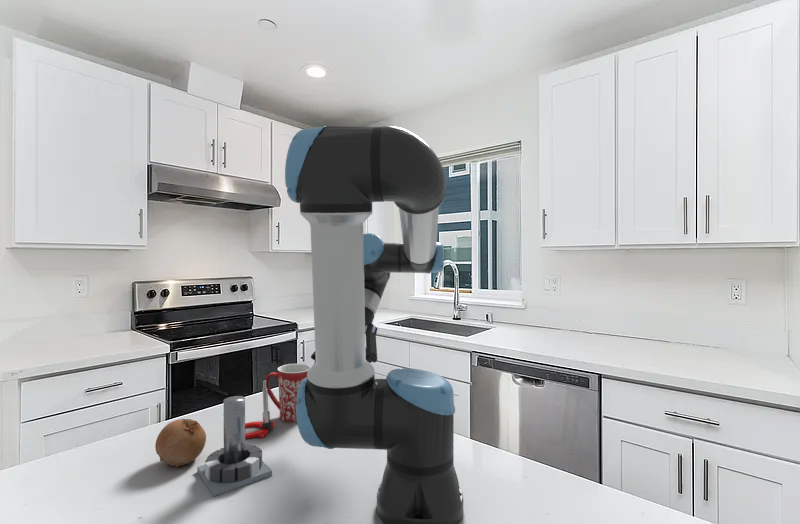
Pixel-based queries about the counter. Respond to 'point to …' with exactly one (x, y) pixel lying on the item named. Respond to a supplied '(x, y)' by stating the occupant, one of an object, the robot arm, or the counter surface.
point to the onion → (180, 442)
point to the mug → (288, 389)
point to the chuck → (233, 470)
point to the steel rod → (234, 429)
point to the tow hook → (266, 423)
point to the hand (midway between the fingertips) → (329, 389)
